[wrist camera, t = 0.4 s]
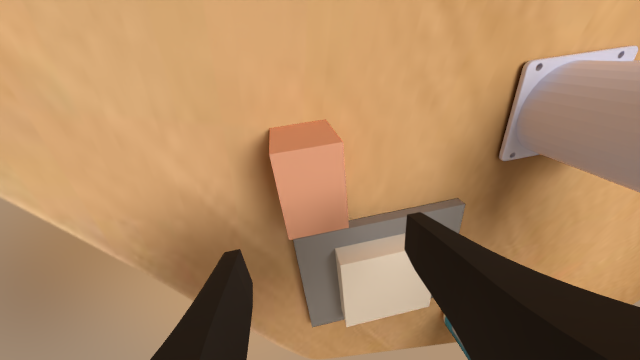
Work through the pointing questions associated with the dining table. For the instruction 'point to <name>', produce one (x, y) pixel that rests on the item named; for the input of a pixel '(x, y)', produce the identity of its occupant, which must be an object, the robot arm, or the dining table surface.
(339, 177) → the brick
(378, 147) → the dining table surface
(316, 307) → the tower base
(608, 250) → the dining table surface
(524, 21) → the dining table surface
